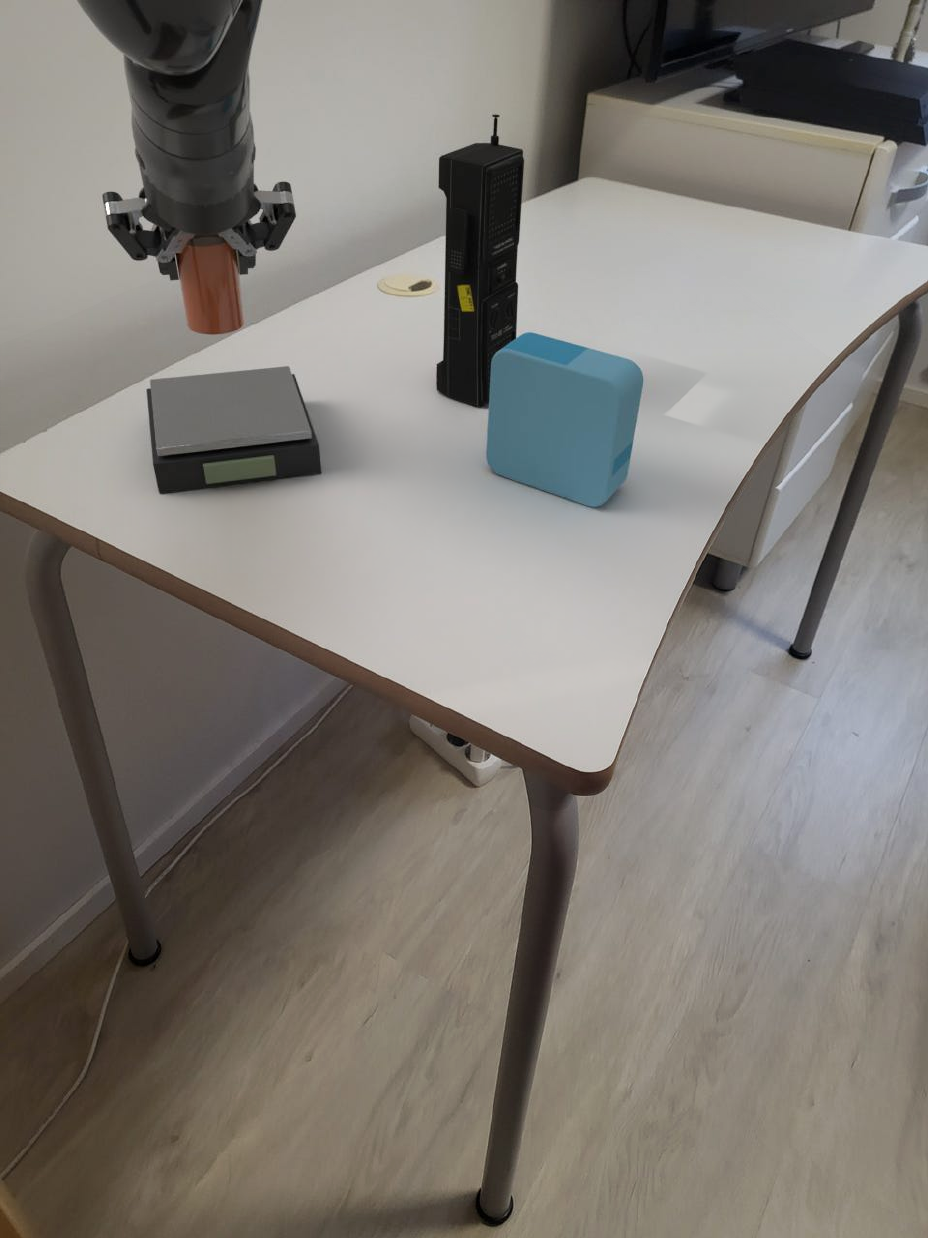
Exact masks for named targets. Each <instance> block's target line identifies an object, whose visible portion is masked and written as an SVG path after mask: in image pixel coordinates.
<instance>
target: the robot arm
mask: <svg viewBox="0 0 928 1238" xmlns="http://www.w3.org/2000/svg"><path fill="white" fill-rule="evenodd" d="M76 1H77V3H78V4H79V6H80V7H81V9H82V10H83V12H84V13H85V15H86V16H87V17H88V19H89V20H90V22H92V24H93V25H94V27H95V28H96V29H97V31H98V32H99V33H100V34H101V35H102V36H103V37H104V38H105V39H106V40H107V41H108V42H109V43H110V44H111V45H112V46H113V47H114V48H115V49H117V50H118V51H119V52H120V53H122V56H123V68H124V74H125V80H126V84H127V91H128V95H129V99H130V105H131V131H132V136H133V137H132V138H133V141H134V146H135V147H134V155H135V158H136V161H137V162H138V167H139V171H140V176H141V181H142V185H143V187H142V188H141V189H140V191H139V192H138V197H134V198H129V199H127V198H126V199H123V198H122V196H121V195H120V194H119V192H116V191H106V192H104V193H103V194H101V195H102V196H101V197H102V202H103V209H104V216H105V220H106V226H107V230H108V232H110V234H111V235H112V236H113V237H114V239H115V240H116V241H117V242H118V243H119V244H120V246H121V247H122V249H123V250H124V251H125V252H126V253H127V254H128V256H129V257H130V258H131V260H134V261H138V262H142V261H145V260H147V259H148V258H149V256H151V257H154V258H155V260H156V262H157V265H158V270H159V273H160V274H161V275H162V276H168V277H169V280H170V281H180V279H179V273H178V267H177V261H176V255H175V254H176V253H181V252H182V251H183V249H184V248H185V246H186V244H187V243H188V241H189V240H190V239H196V238H201V237H223V238H224V239H225V241H226V242H227V243H228V244H229V245H230V246H231V247H232V248H233V249H236V253H237V261H238V269H239V276H243V275H248V274H249V269H254V268H255V267H256V265H257V263H256V262H257V260H256V259H257V253H258V251H257V250H259V249H261V248H264V250H265V251H269V252H273V251H277V250H279V249H280V248H281V246H282V244H283V242H284V240H285V238H286V236H287V235H288V233H289V230H290V229H291V227H292V225H293V223H294V221H295V219H296V217H297V214H296V207H295V202H294V196H293V191H292V186H291V183H290V182H288V181H278V182H276V183H275V184H274V186H273V188H272V190H259V188H258V186H257V184H256V183H255V161H256V157H257V155H256V153H257V146H256V142H255V130H254V123H253V118H252V117H253V116H252V113H251V76H250V62H251V61H250V60H251V55H252V49H253V45H254V41H255V36H256V32H257V28H258V24H259V21H260V14H261V10H262V6H263V1H264V0H76ZM261 210H262V211H261ZM260 211H261V214H260V216H259V217H258V220H259V221H258V222H255V223H253V222H252V221H251V219H252V218H254V217H255V216H256V215H258V214H259V212H260ZM142 217H143V218H144V219H145V220H146V221H148V222H149V223H151V224H152V226H151V229H150V230H146V229H144V226H143V225H142V223H141V222H140V218H142Z"/></svg>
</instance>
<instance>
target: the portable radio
mask: <svg viewBox="0 0 928 1238" xmlns="http://www.w3.org/2000/svg"><path fill="white" fill-rule="evenodd" d="M500 116H501V115H500V114H492V115H491V117H492V118H493V128H492V129H493V130H492V131H493V132H492V135H490V142H475V143H472V144H469V145H466V146H464V147H461V148H459V149H456V150H453V151H451V152H448V153H445V154H441V156H440V157H438V189H439V190H441V191H442V192H443V194H444V196H445V200H446V201H445V245H444V246H445V247H444V248H445V251H444V301H443V302H444V303H443V304H444V305H443V306H444V307H443V347H442V348H443V351H442V360H441V361H439V362H438V363H436V369H435V371H436V372H435V373H436V374H435V375H436V376H435V377H436V378H435V379H436V380H435V381H436V383H435V385H436V386H435V387H436V389H435V390H436V391H437V392H439V393H440V394H441V395H444V396H446V397H448V398H450V399H451V398H452V399H454V400H457V401H460V402H463V403H465V404H469V405H472V406H475V407H477V408H480V407H481V408H482V407H484V405H486V404H487V403H489V395H490V377H491V362H492V358H493V356H494V355H495V353H496V352H498V351H499V350H500V349H502V348H503V347H505V346H506V345H507V344H509V343H510V342H512V341H513V340H515V339H516V338H517V326H518V325H517V324H518V301H519V284H518V282H517V269H518V268H517V267H518V249H519V248H518V247H519V244H520V234H521V217H522V202H523V201H522V200H523V187H524V170H525V158H524V151H523V148H519V147H514V146H508V145H503V144H499V143H500V136H499V135H498V118H500Z"/></svg>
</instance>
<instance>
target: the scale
mask: <svg viewBox="0 0 928 1238" xmlns="http://www.w3.org/2000/svg"><path fill="white" fill-rule="evenodd" d="M291 374H292V376H293V379H294V382H295V385H296V388H297V391H298V394H299V397H300V400H301V403H302V405H303V408H304V411H305V414H306V417H307V420H308V423H309V426H310V429H311V433H312V438H311V439H304V440H295V441H287V442H278V443H270V444H261V445H253V446H244V447H236V448H227V449H219V450H210V451H202V452H193V453H184V454H176V455H167V456H158V454H157V449H156V439H155V428H154V418H153V407H152V397H151V387H150V388H146V401H147V413H148V423H149V434H150V446H151V447H150V448H151V457H152V466H153V471H154V476H155V481H156V485H157V490H158V493H159V495H160V494H161V495H162V494H169V493H177V492H185V491H193V490H200V489H208V488H215V487H216V488H218V487H225V486H232V485H240V484H248V483H256V482H264V481H272V480H277V479H278V480H280V479H287V478H295V477H296V478H297V477H304V476H311V475H318V474H322V465H321V454H320V443H319V441H318V440H319V439H318V438H317V435H316V432H315V429H314V426H313V424H312V421H311V418H310V415H309V412H308V409H307V406H306V403H305V401H304V398H303V394H302V392H301V389H300V387H299V384H298V381H297V377H296V375H295V373H291Z"/></svg>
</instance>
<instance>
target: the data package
mask: <svg viewBox="0 0 928 1238" xmlns="http://www.w3.org/2000/svg"><path fill="white" fill-rule="evenodd" d="M643 386H644V375H643V371H642V370H641V368H640V366H639V365H638V363H636V362H635V361H633V360H632V359H629V358H626V357H622V356H619V355H615V354H611V353H608V352H604V351H601V350H597V349H594V348H590V347H585V346H582V345H579V344H576V343H573V342H568V341H565V340H562V339H558V338H554V337H550V336H547V335H543V334H539V333H535V332H533V331H528V332H524V333H522V334H520V335H518V336H516V339H515V340H513V341H512V342H510V343H509V344H507V345H506V346H505V347H503V348H502V349H500V350H499V351H498V352H496V353H495V355H494V356H493V358H492V362H491V377H490V395H489V402H488V413H487V415H488V417H487V434H486V452H485V455H486V462H487V464H488V466H489V468H490V469H491V470H492V471H493V472H494V473H495V474H496V475H498V476H501V477H504V478H506V479H509V480H512V481H515V482H518V483H520V484H524V485H526V486H530V487H532V488H535V489H538V490H541V491H544V492H547V493H549V494H552V495H555V496H558V497H561V498H564V499H567V500H569V501H572V502H575V503H578V504H581V505H584V506H587V507H589V508H590V507H591V508H597V507H600V506H602V505H604V504H605V503H606V502H607V501H608V500H609V499H610V498H611V497H612V496H613V495H614V493H615V492H616V491H617V490H618V489H619V488H620V487H621V486H622V485H623V483H624V482H625V481H626V480H627V478H628V475H629V469H630V463H631V457H632V452H633V447H634V440H635V434H636V428H637V422H638V415H639V409H640V404H641V398H642V393H643V388H644V387H643Z"/></svg>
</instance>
